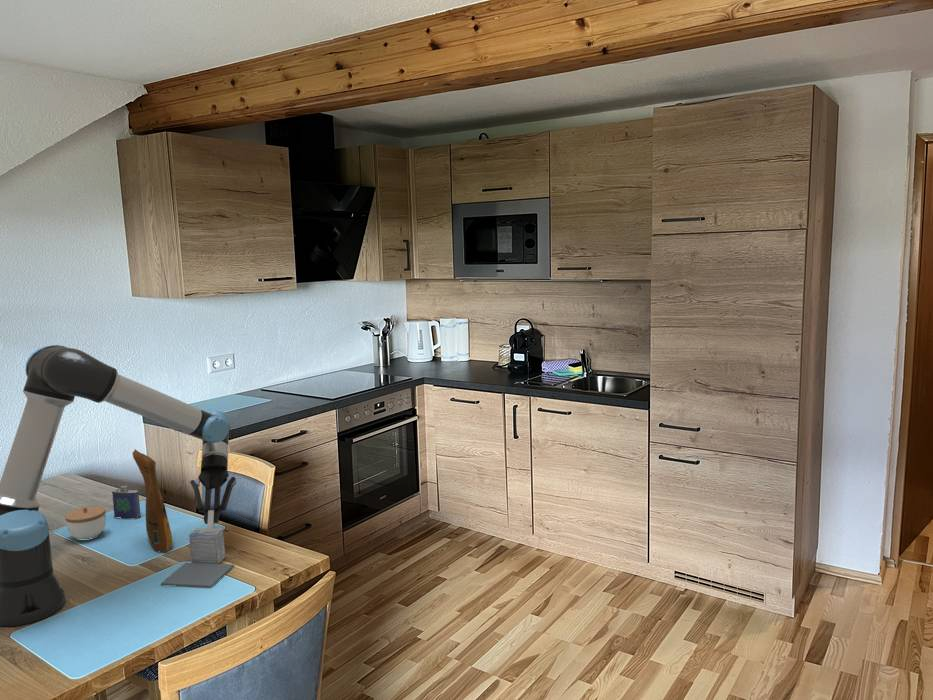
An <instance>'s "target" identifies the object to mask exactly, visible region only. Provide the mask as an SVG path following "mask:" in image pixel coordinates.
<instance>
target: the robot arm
mask: <svg viewBox="0 0 933 700" xmlns="http://www.w3.org/2000/svg"><path fill="white" fill-rule="evenodd" d="M25 375H26V381H25V384H24V387H23V391H22V392H23V395H24V396H25V397H26V399H27V400H26V404H25V406H24V408H23V413H22V415H21V418H20V421H19V424H18V427H17V429H16V433H15V436H14V439H13V441H12V442H13V443H12V445H11V448H10V449H9V454H8V457H7V460H6V463H5V466H4V469H3V472H2V476H1V479H0V627H15V626H22V625H23V626H24V625H27V624H31V623H35V622H38V621H40V620H42V619H46V618H48V617H50V616H51V615H53V614H55V613H57V612H59V610H61V609H62V608H63V607H64V606H65V604H66V598H65V597H66V595H65V594H66V593H65V590H64V589H63V587H61V586H60V582H59V580H58V579H57V576H56V574H55V572H54V566H53V564H54V563H53V559H52V558H53V556H52V548H51V541H50V525H49V523H48V519H47V517H46V516H45V514H44V513H43V512H41V511H39V509H40V506H41V504H40V502H39V501H38V499H37V498H36V497H37V495H38V490H39V487H40V485H41V481H42V479H43V475H44V473H45V469H46V466H47V463H48V460H49V456H50V453H51V450H52V448H53V445H54V441H55V437H56V435H57V432H58V430H59V429H58V428H59V425H60V423H61V420H62V418H63V417H62V416H63V413H64V411H65V408H66V406H68V405H71V404H73V403H74V401H75V397H78V398H82V399H85V400H89V401H92V402H95V403H98V404H101V403H102V402H106V403H108V404H111V405H113V406H116V407H119V408H121V409H123V410H125V411H128V412H131V413H134V414H136V415H139V416H142V417H144V418H147V419H150V420H152V421H154V422H157V423H159V424H161V425H165V426H166V427H168V429H171V430H174V432H179V433H182V434H184V435H187V436H190V437H194V438H197V439H199V440H202V445H201V446H202V449H201V461H200V462H201V463H200V472H199V473H200V474H199V475H198V477H197V478H196V479H194V480H193V479H192V480H190V482H189V483H190V485H191V488H192V489H193V493H194V496H195V501H196V506H197V510H198V511H199V513H200V514H201V513H203V522H204V524H205V525H207V527H206V528H216V527H215V524H218V523H219V521H220V520H219V519H220V513H221V512H222V511H223V512H224V511H226V510H227V506H228V504H229V500H230V498H231V494H232V490H233V488H234V487H235V485H236V484H237V479H236V477H235V476H230V475H229V474H230V473H229V472H228V470H229V468H228V467H229V463H228V462H229V460H228V459H229V442H230V441H229V439H230V431H231V430H230V429H231V426H230V425H231V424H230V416H229V415H228V414H227V413H226V412H224V411H221V410H220V411H218V410H213V411H209V412H208V411H205V410H202V409H200V408H198V407H196V406H194V405H191V404H190V403H186V402H185V401H181V400H179V399H178V398H175V397H173V396H170V395H167V394H165V393H163V392H161V391H159V390H156V389H154V388H152V387H150V386H147V385H145V384H143V383H140V382H138V381H136V380H134V379H133V380H132V379H131V378H128V377H126V376H123V375H121V374H119V371H118V369H117V368H115V367H113V366H110V365H108V364H107V363H104V362H102V361H101V360H98V359H97V358H95V357H93V356H91V355H90V354H89V353H87V352H84V351H83V350H80V349H77V348H73V347H72V348H71V347H67V346H64V345H59V344H53V345H46V346H41V347H40V348H38V349H36V350H35V351H33V352H32V353H31V354H30V356H29V357H28V358H27V361H26V364H25ZM226 482H227V484H226V487H225V490H224V492H223V493H224V494H223V496H222V499H221V493H222V492H221V491H222V487H223V486H224V484H225V483H226ZM200 483H201V484H200ZM201 485H202V486H203V487H204V488H205V490H204V493H205V494H204V495H205V496H204V506H203V501H202V495H201V492H200V486H201ZM213 489H214V500H213V509H211V502H212V501H211V500H212V492H213Z"/></svg>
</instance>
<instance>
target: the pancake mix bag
mask: <svg viewBox="0 0 933 700" xmlns="http://www.w3.org/2000/svg"><path fill="white" fill-rule="evenodd" d="M132 458H133V460H134V461H135V463H136V465H137V467H138V469H139V471H140V474H141V476H142V478H143V481H144V486H145V497H146V498H145V527H146V534H147V538H148V540H149V542H150V544H151V546H152V547H153V549H155V550H154V552H156V551H160V552H159V553H168V551H169V550H171V549H172V548H173V536H172V531H171V528H170V527H171V526H170V522H169V518H168V514H167V509H166V505H165V503H164V499H163V498H164V497H163V496H162V493H161V489H160V486H159V481H158V475H157V465H156V463H157V462H156V461H155V460H154V459H153V458H151V457H150V456H149V455H147V454H145V453H141V452H140V451H138V449H136V448H135V449H134V450H133V452H132ZM170 548H171V549H170ZM168 549H169V550H168Z"/></svg>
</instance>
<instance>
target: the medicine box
mask: <svg viewBox="0 0 933 700" xmlns="http://www.w3.org/2000/svg"><path fill="white" fill-rule="evenodd" d="M188 538H189V549H190V558H191V563H210V564H221V562H222V561H223V560H224V559H225V558H226V550H225V549H226V548H225V540H224V539H225V538H224V528H221V527H218V528H216V527H215V528H207V527H197V528H195V529H194V530H193V531H191V532H190V533H189V534H188Z"/></svg>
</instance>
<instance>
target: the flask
mask: <svg viewBox="0 0 933 700" xmlns="http://www.w3.org/2000/svg"><path fill="white" fill-rule="evenodd" d="M111 494H112V502H113V503H112V505H113V515H114V517H113V518H115V517H121V518H124V519H125V518H135V519H136V518H137V517H140V516H142V515H141V514H142V513H141V506H140V496H139V495H140V493H139V490H135V489H134V490H131V489H130V490H129V489H128V485H126V484H125V485H121V486H120V488H116V489H113V490H112V492H111ZM140 518H141V517H140ZM137 519H138V518H137Z"/></svg>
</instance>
